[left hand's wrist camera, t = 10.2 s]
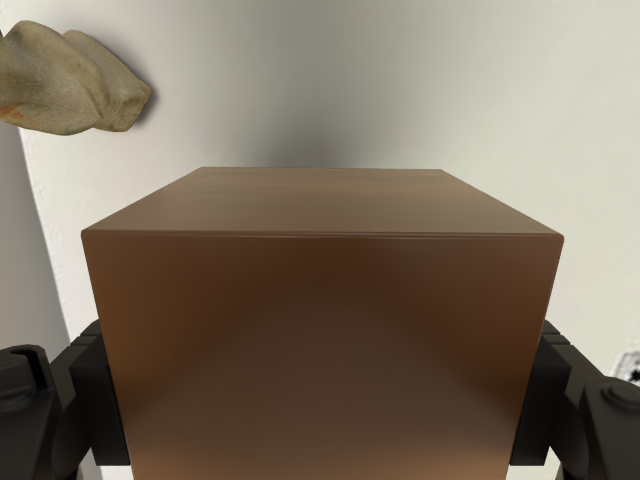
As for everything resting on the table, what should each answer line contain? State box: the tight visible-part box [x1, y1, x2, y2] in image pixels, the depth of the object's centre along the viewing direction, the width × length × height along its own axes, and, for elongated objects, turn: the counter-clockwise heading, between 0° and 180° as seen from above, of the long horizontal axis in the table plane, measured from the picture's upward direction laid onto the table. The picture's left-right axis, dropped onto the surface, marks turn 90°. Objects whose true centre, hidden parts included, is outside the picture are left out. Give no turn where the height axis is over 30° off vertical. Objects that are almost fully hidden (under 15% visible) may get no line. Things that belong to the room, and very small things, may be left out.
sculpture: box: [0, 21, 152, 136], centre depth 22 cm, size 6×7×15 cm
